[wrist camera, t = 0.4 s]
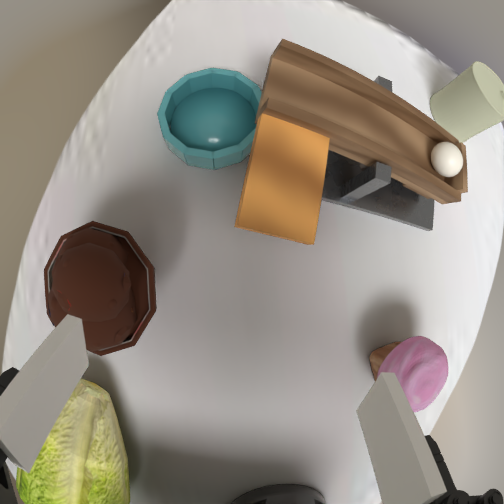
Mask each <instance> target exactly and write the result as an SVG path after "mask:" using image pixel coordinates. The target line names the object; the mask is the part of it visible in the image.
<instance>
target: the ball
mask: <svg viewBox="0 0 504 504" xmlns="http://www.w3.org/2000/svg"><path fill="white" fill-rule="evenodd" d="M431 163H432V166H433V168H434V169H435V170H436V172H437V173H439V174H440V175H442V176H445V177H453V176H455V175H457V174H458V173H459V172H460V170H461V169H462V166H463V157H462V154H461V152H460V150H459V149H458V147H457V146H455V145H454V144H452V143H450V142H441V143H438V144H437V145H436V146H435V147H434V148H433V150H432V152H431Z"/></svg>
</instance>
